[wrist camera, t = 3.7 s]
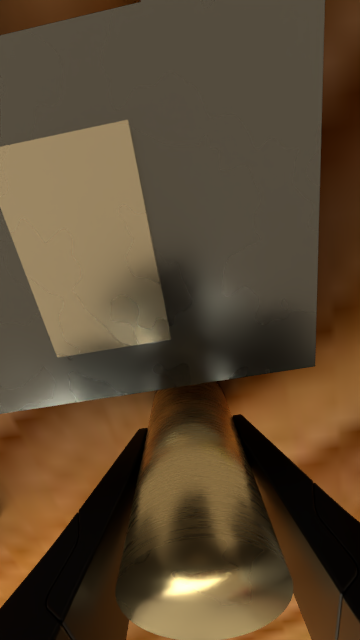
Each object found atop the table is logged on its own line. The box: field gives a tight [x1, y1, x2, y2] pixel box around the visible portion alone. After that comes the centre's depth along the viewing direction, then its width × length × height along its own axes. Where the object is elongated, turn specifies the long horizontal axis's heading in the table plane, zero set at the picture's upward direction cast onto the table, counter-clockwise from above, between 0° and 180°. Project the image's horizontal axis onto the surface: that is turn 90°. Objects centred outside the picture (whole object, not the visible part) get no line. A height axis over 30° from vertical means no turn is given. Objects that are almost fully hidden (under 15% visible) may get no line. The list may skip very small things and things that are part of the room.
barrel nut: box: [115, 381, 293, 640], centre depth 7 cm, size 4×4×6 cm
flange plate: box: [0, 0, 325, 414], centre depth 5 cm, size 20×14×3 cm
